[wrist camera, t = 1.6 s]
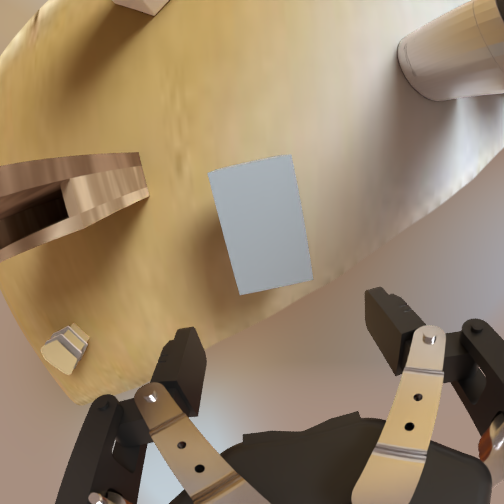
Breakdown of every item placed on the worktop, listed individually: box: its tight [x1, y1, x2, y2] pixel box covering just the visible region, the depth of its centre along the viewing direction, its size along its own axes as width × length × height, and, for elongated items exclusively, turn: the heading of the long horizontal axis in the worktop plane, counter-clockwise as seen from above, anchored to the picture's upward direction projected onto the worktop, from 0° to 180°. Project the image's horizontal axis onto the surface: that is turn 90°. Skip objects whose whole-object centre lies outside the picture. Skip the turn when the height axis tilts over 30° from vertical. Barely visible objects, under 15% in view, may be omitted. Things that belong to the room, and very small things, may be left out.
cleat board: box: [0, 152, 150, 262], centre depth 17 cm, size 12×5×20 cm, turn 103°
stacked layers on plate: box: [40, 323, 90, 375], centre depth 32 cm, size 10×9×6 cm
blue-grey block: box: [208, 155, 313, 295], centre depth 23 cm, size 6×10×10 cm, turn 13°
